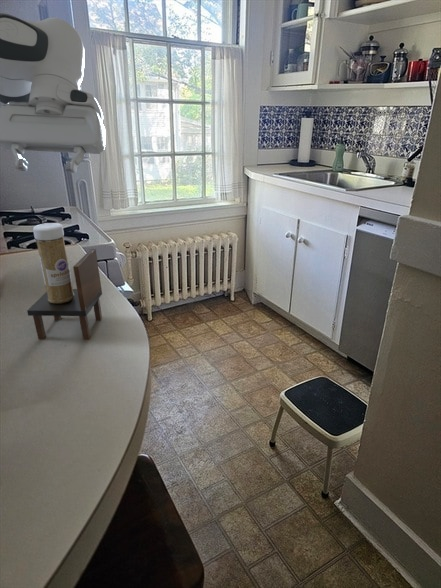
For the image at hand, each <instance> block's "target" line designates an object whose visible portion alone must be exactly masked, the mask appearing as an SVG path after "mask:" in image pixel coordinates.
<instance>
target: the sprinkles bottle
mask: <svg viewBox="0 0 441 588" xmlns="http://www.w3.org/2000/svg"><path fill="white" fill-rule="evenodd" d="M32 231H33V237H34V239H35V242H36V246H37V250H38V257H39V262H40V268H41V272H42V277H43V282H44V285H45V288H46V292H47V294H48V301H49V302H51V303H54V304H59V303H65V302H68V301H70V300H72V299H73V298H74V293H73V289H74V288H73V284H72V283H73V282H72V274H71V269H70V263H69V259H68V255H67V250H66V244H65V237H64V236H65V231H64V227H63V225H62V223H59V222H45V223H41V224H37V225H34V226H33V227H32Z"/></svg>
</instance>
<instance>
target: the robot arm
mask: <svg viewBox="0 0 441 588" xmlns="http://www.w3.org/2000/svg"><path fill="white" fill-rule="evenodd" d="M84 70H85V46H84V42H83V39H82V36H81V35H80V34H79V32H78V31H77V30H76V28H75V27H74V26H73V25H72V24H70V23H69V22H68V21H67V20H64V19H62V18H59V17H54V16H53V17H47V18H45V19H42V20H27V19H21V18H20V17H17V16H14V15H12V14H8V13H2V12H0V103H2V104H3V105H1V106H0V147H1V148H2V149H4V150H10V151H11V152H12V154H13V156H14V159H15V163H14V167H15V169H16V170H17V171H18V172H19V171H20V172H22V171H23V172H27V171H28V167H29V162H28V161H27V160H26V159H25V158H24V157H22V156H23V155H25V151H26V152H27V151H30V152H51V153H68V154H69V153H72V154H73V153H74V155H73V157H72V158H71V159H70V160H65V171H66V172H67V173H68V174H77V173H78V167H79V165H80V164H81V163H82V162H83V160H84V159H85V156H86V154H93V155H100V154H102V153H103V151H105V149H106V128H105V126H104V124H103V120H104V115H103V111H102V109H101V106H100V105H99V102H98V100H97V99H96V97H95V96H94V95H93V94H92V93H90V92H87V91H84V90H82V89H81V87H80V86H81V83H82V81H83V78H84V73H85V72H84Z"/></svg>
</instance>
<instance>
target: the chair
mask: <svg viewBox="0 0 441 588" xmlns="http://www.w3.org/2000/svg"><path fill="white" fill-rule="evenodd" d="M72 268H73V273H74V279H75V285H76V288H73V293H74V298H73V299H72V300H70V301H68V302H65V303H59V304H54V303H51V302H49V301H48V294H47V291H45V292H44V293H43V294H42V295H41V297H39V298H38V299H37V300H36V301H35V302H34V303H33V304H32V305H31V306H30V307H29V308H28V309H27V310H26V313H27V316H29V317H30V316H32V318H33V321H34V327H35V331H36V335H37V339H38V340H45V338H46V337H47V334H46V330H45V325H44V321H43V317H53V319H54V321H61V319H62V317H78V318H79V323H80V330H81V335H82V340H84V341H87V340H88V341H90V339H91V332H90V326H89V321H88V314H89V313H90V312H91V311H92V309H93V311H94V317H95V321H98V322H99V321H102V319H103V314H102V307H101V301H100V298H101V296H102V295H103V289H102V284H101V276H100V270H99V262H98V255H97V249H96V248H91V249H89V250H88V252H86V253H85V254H84V255H83V256H82V257H81V258H80V259H79V260H78V261H77V262H76V263H75V264H74V265H73V266H72Z"/></svg>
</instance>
